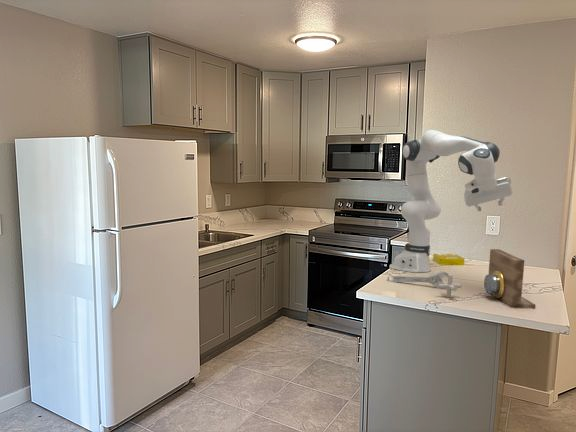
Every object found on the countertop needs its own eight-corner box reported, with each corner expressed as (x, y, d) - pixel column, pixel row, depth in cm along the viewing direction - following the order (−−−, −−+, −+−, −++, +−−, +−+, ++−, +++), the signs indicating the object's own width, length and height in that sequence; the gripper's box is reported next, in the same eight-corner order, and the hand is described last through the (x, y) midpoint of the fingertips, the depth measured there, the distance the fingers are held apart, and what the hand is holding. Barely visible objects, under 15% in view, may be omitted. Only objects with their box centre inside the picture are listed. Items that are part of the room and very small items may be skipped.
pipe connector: (433, 293, 200) (434, 272, 198) (454, 293, 200) (455, 272, 199) (442, 300, 190) (444, 277, 189) (465, 300, 191) (466, 277, 189)
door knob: (492, 301, 188) (494, 274, 187) (481, 293, 200) (483, 267, 199) (504, 301, 188) (506, 274, 187) (492, 293, 200) (494, 267, 199)
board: (510, 307, 182) (514, 260, 180) (487, 291, 206) (490, 249, 204) (535, 308, 182) (539, 260, 180) (508, 291, 206) (512, 249, 203)
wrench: (388, 286, 222) (451, 288, 208) (387, 287, 220) (451, 289, 206) (387, 270, 221) (450, 271, 207) (386, 271, 220) (450, 272, 205)
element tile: (440, 265, 261) (440, 257, 260) (431, 260, 276) (432, 252, 275) (465, 266, 261) (465, 258, 260) (455, 260, 276) (456, 253, 275)
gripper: (507, 172, 199) (510, 198, 205) (461, 185, 203) (465, 210, 210) (513, 179, 193) (515, 205, 200) (465, 192, 198) (469, 217, 204)
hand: (489, 207), depth 205 cm, fingers open, 8 cm apart
